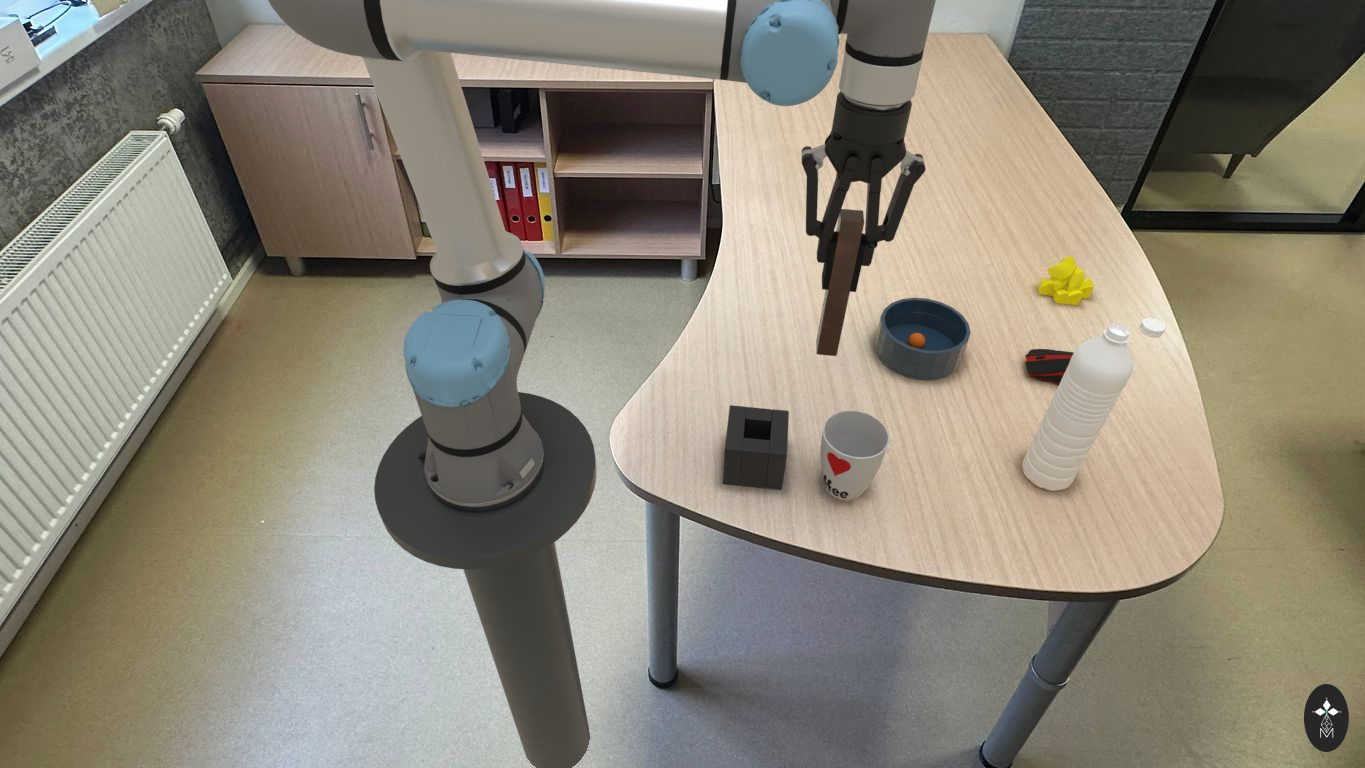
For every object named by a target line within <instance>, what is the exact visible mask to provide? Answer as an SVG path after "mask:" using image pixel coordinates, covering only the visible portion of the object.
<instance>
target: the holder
mask: <svg viewBox="0 0 1365 768" xmlns="http://www.w3.org/2000/svg"><path fill="white" fill-rule="evenodd" d="M728 409H729V410H728V418H727V426H726V435H725V443H724V445H725V446H724V453H723V454H724V456H723V468H722V469H723V471H722V485H728V486H737V487H738V486H739V487H747V488H748V487H749V488H757V489H766V490H767V489H768V490H777V491H782V490H783V484H784V479H785V472H786V465H787V457H788V440H789V420H790V419H789V417H790V412H789V410H786V409H785V410H784V409H783V410H782V409H773V408H762V407H752V406H751V407H750V406H743V405H732V404H731V405H729V408H728Z"/></svg>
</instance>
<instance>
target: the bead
mask: <svg viewBox="0 0 1365 768" xmlns="http://www.w3.org/2000/svg"><path fill="white" fill-rule="evenodd" d="M908 344H909V346H911V347H915V348H918V349H921V348H923V347H924V345H925V337H924V336H923V335H922V334H920V333H914V334H912V335H911V336H910V337H909V339H908Z"/></svg>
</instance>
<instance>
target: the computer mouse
mask: <svg viewBox="0 0 1365 768" xmlns="http://www.w3.org/2000/svg"><path fill="white" fill-rule="evenodd" d="M1074 352H1075V351H1066V350H1057V349H1049V348H1035V349H1030V350H1029V351H1028V352H1027V354H1025V361H1024V364H1025V368H1026V372H1027V374H1028V376H1029V377H1030V379H1033V380H1036V381H1039V382H1044V383H1049V384H1053V385H1056V386H1057V387H1058V386H1059V384H1060V382H1061V380H1062V378H1063V376H1064V373H1065V371H1066V369H1067V367H1068V365H1069V362H1070V360H1071V357H1072V355H1073V353H1074Z"/></svg>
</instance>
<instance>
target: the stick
mask: <svg viewBox="0 0 1365 768" xmlns="http://www.w3.org/2000/svg"><path fill="white" fill-rule="evenodd" d="M864 228H865V215H864V210H863V209H862V210H861V209H849V208H841V211H840V214H839V217H838V220H837V223H836V228H835V229H836V230H835V231H836V240H837V246H836V251H835V257H834V262H833V267H832V273H831V278H830V284H829V289H828V290H824V297H823V302H822V308H821V313H820V319H819V324H818V330H817V336H816V341H815V344H816V345H815V347H816V348H815V351H816V355H818V356H819V355H820V356H832V357H837V356H838V352H839V346H840V341H841V337H842V332H843V327H844V322H845V317H846V312H847V308H848V303H849V298H850V293H851V292H850V288H851V283H852V278H853V273H854V268H855V263H856V259H857V254H858V249H859V246H860V241H861V236H862V233H863V231H864Z"/></svg>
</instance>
